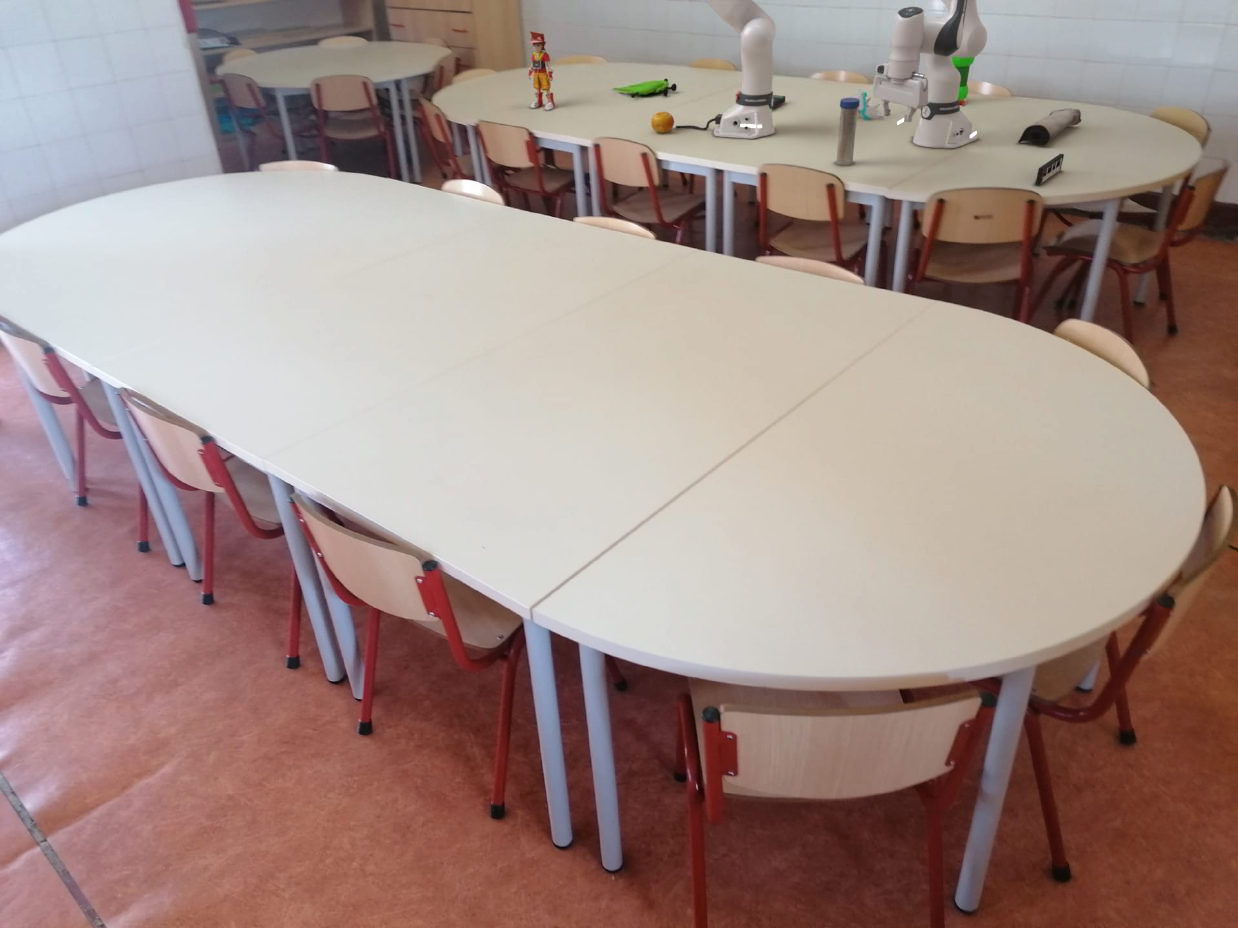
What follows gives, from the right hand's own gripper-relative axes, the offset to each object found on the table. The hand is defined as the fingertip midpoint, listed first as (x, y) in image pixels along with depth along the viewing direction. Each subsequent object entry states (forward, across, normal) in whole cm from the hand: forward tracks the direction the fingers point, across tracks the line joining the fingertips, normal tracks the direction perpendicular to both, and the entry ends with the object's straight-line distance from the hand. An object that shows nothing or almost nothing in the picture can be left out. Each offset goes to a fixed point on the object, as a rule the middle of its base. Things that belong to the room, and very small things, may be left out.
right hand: (896, 118), depth 271 cm
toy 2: (+18, +157, +3) cm, 158 cm away
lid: (-1, +22, 0) cm, 22 cm away
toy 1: (+19, +160, +49) cm, 169 cm away
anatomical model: (+18, +64, -44) cm, 80 cm away
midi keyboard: (+18, -28, -38) cm, 51 cm away
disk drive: (+18, +101, -24) cm, 105 cm away
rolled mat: (+18, +4, -75) cm, 77 cm away
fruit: (+18, +94, +28) cm, 100 cm away
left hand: (-30, +51, -21) cm, 63 cm away
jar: (+18, +22, 0) cm, 28 cm away
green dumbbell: (+17, +58, -84) cm, 104 cm away
